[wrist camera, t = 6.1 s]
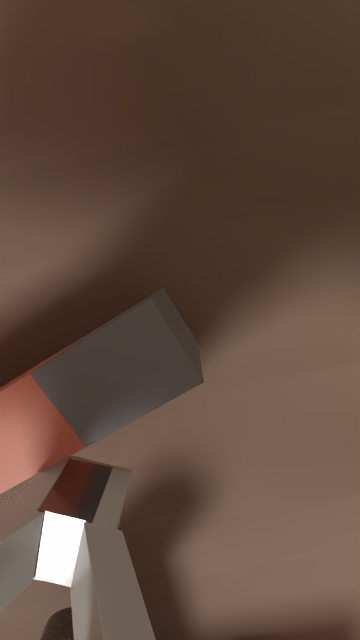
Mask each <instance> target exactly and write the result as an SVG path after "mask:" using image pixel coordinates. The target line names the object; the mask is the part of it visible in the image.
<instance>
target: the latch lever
mask: <svg viewBox="0 0 360 640" xmlns="http://www.w3.org/2000/svg"><path fill="white" fill-rule="evenodd" d="M203 382H204V381H203V374H202V368H201V361H200V355H199V348H198V342H197V341H196V339H195V337H194V336H193V334H192V333H191V331H190V329H189V328H188V326H187V325H186V323H185V321H184V320H183V318H182V316H181V315H180V313H179V312H178V310H177V308H176V307H175V305H174V303H173V302H172V300H171V299H170V297H169V295H168V294H167V292H166V291H165V289H164V287H163V288H161V289H160V290H158V291H157V292H155V293H153V294H152V295H150V296H148V297H147V298H145V299H144V300H142V301H140V302H139V303H137V304H135V305H134V306H132V307H131V308H129V309H127V310H126V311H124V312H122V313H121V314H119V315H118V316H116V317H114V318H113V319H111V320H109V321H108V322H106V323H105V324H103V325H101V326H100V327H98V328H97V329H95V330H93V331H92V332H90V333H88V334H87V335H85V336H84V337H82V338H80V339H79V340H77V341H75V342H74V343H72V344H71V345H69V346H67V347H66V348H64V349H62V350H61V351H59V352H58V353H56V354H54V355H53V356H51V357H49V358H48V359H46V360H45V361H43V362H41V363H40V364H38V365H36V366H35V367H33V368H32V369H30V370H28V371H27V372H25V373H23V374H22V375H20V376H19V377H17V378H15V379H14V380H12V381H10V382H9V383H7V384H6V385H4V386H2V387H1V388H0V494H1V493H3V492H5V491H7V490H8V489H10V488H12V487H14V486H16V485H17V484H19V483H21V482H23V481H25V480H27V479H28V478H30V477H32V476H34V475H35V474H36V473H37V472H41V471H43V470H45V469H47V468H48V467H50V466H52V465H54V464H56V463H57V462H59V461H61V460H63V459H65V458H67V457H68V456H70V455H72V454H74V453H76V452H77V451H79V450H81V449H83V448H85V447H87V446H88V445H90V444H92V443H94V442H96V441H97V440H99V439H101V438H103V437H105V436H107V435H108V434H110V433H112V432H114V431H116V430H117V429H119V428H121V427H123V426H125V425H127V424H128V423H130V422H132V421H134V420H136V419H137V418H139V417H141V416H143V415H145V414H146V413H148V412H150V411H152V410H154V409H156V408H157V407H159V406H161V405H163V404H165V403H166V402H168V401H170V400H172V399H174V398H176V397H177V396H179V395H181V394H183V393H185V392H186V391H188V390H190V389H192V388H194V387H196V386H197V385H199V384H201V383H203Z"/></svg>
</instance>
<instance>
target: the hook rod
mask: <svg viewBox="0 0 360 640" xmlns="http://www.w3.org/2000/svg"><path fill="white" fill-rule="evenodd" d="M40 640H74V635H73V621H72V607H70V608H65V609H62V610H60V611H58V612H56V613H55V614H54V615H52V616H51V617H50V619H49V620H48V622H47V624H46V626H45V629H44V631H43V634H42V637H41V639H40Z"/></svg>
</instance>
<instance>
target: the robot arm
mask: <svg viewBox="0 0 360 640" xmlns="http://www.w3.org/2000/svg"><path fill="white" fill-rule="evenodd" d="M131 474H132V469H128V468H123V467H118V466H113V465H108V464H104V463H100V462H95V461H92V460H88V459H84V458H80V457H76V456H71V455H70V456H68V457H67V458H65V459H63V460H61V461H59V462H57V463H56V464H54V465H52V466H50V467H48V468H47V469H45V470H43V471H41V472H37V473H36V474H35V476H34V477H33V478H32V480H31V481H30V482H29V484H28V485H27V487H26V488H25V489H24V491H23V492H22V493H21V495H20V496H19V497H18V499H17V500H16V501H15V503H14V504H13V505H9V504H5V505H3V506H2V507H0V613H1V612H2V611H3V610H4V609H5V608H6V607H8V606H9V605H10V604H11V603H12V602H13V601H14V600H15V599H16V598H17V597H18V596H19V595H20V594H21V593H22V592H23V591H24V590H25V589H26V588H27V587H28V586H29V585H30V584H31V583H32V582H33V579H37V580H42V581H47V582H53V583H56V584H60V585H64V586H68V587H71V589H70V593H71V607H72V621H73V635H74V640H156V639H155V636H154V632H153V629H152V626H151V623H150V619H149V616H148V613H147V610H146V606H145V603H144V600H143V596H142V593H141V590H140V587H139V583H138V580H137V577H136V574H135V570H134V567H133V564H132V561H131V557H130V554H129V551H128V548H127V544H126V541H125V538H124V535H123V531H121V530H118V528H119V524H120V519H121V515H122V511H123V507H124V503H125V499H126V495H127V491H128V487H129V482H130V478H131Z"/></svg>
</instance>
